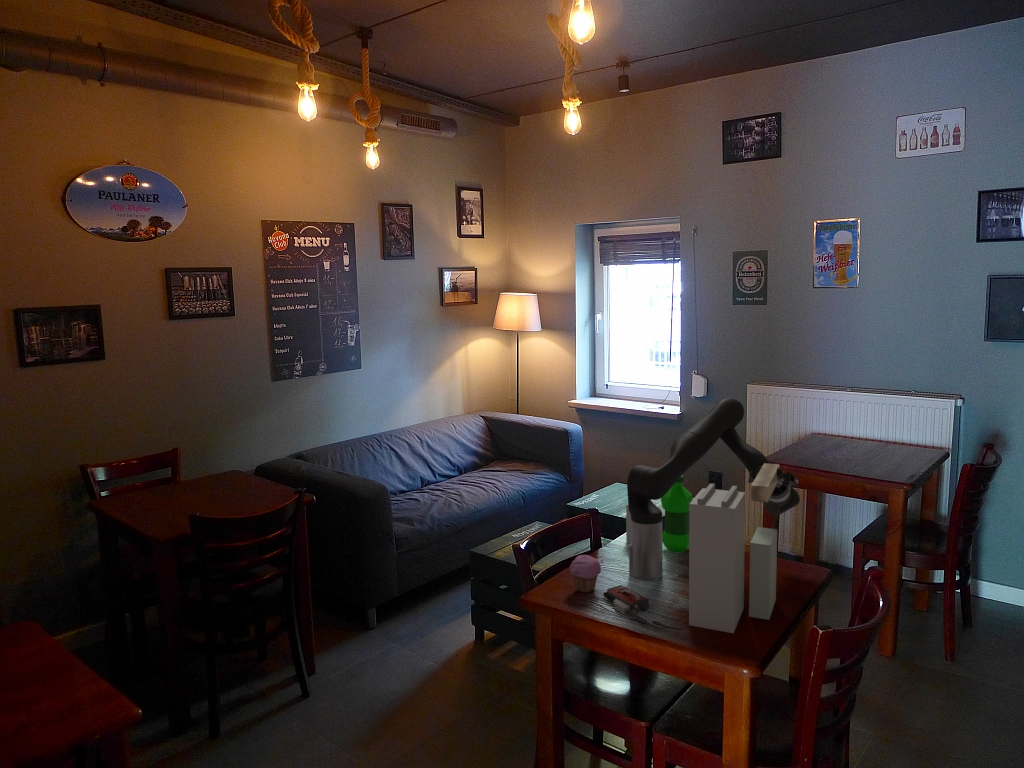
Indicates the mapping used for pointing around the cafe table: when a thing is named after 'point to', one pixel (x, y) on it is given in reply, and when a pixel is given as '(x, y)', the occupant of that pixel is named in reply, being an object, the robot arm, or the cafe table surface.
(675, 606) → the cafe table surface
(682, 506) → the plastic bottle
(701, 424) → the robot arm
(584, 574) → the cupcake
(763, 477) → the birch bar
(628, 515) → the small box
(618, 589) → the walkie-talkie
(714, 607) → the grey stand
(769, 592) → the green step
